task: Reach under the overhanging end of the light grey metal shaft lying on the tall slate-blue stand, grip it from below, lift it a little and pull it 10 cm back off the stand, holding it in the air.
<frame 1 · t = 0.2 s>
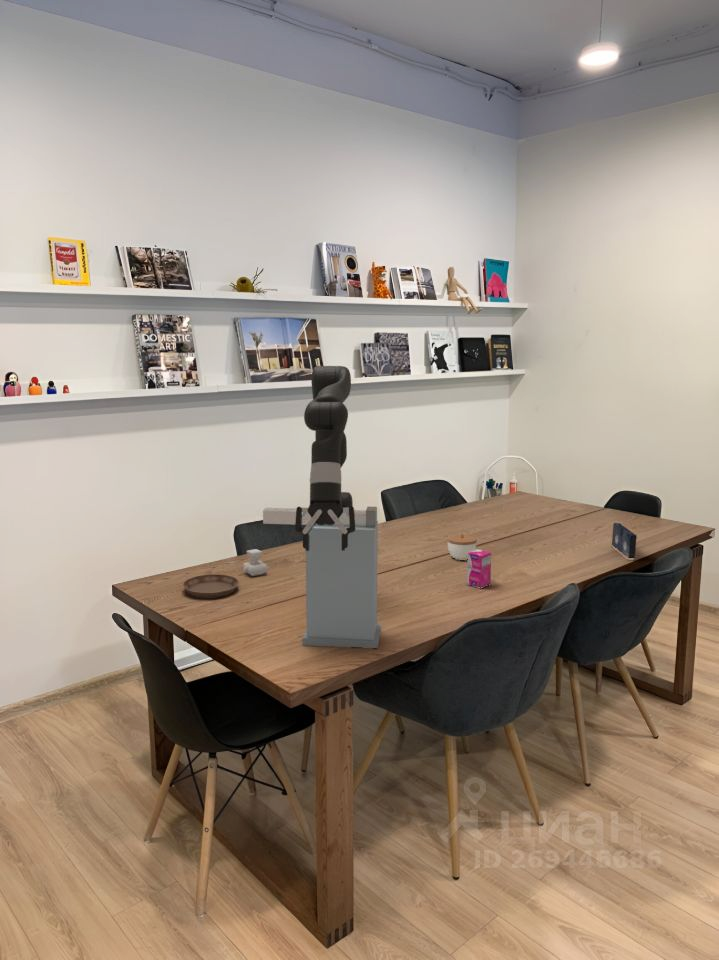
hand: (325, 550, 176), 31 cm above the table, tool tilted 20°, fingers open, 8 cm apart
supplement box: (478, 585, 246), on the table
plant saucer: (211, 592, 241), on the table
stamp: (255, 574, 257), on the table
stand: (342, 637, 203), on the table
shaft: (320, 523, 197), point 32 cm above the table, touching stand
vhs cassette tape: (622, 554, 282), on the table
lidded jar: (461, 558, 276), on the table
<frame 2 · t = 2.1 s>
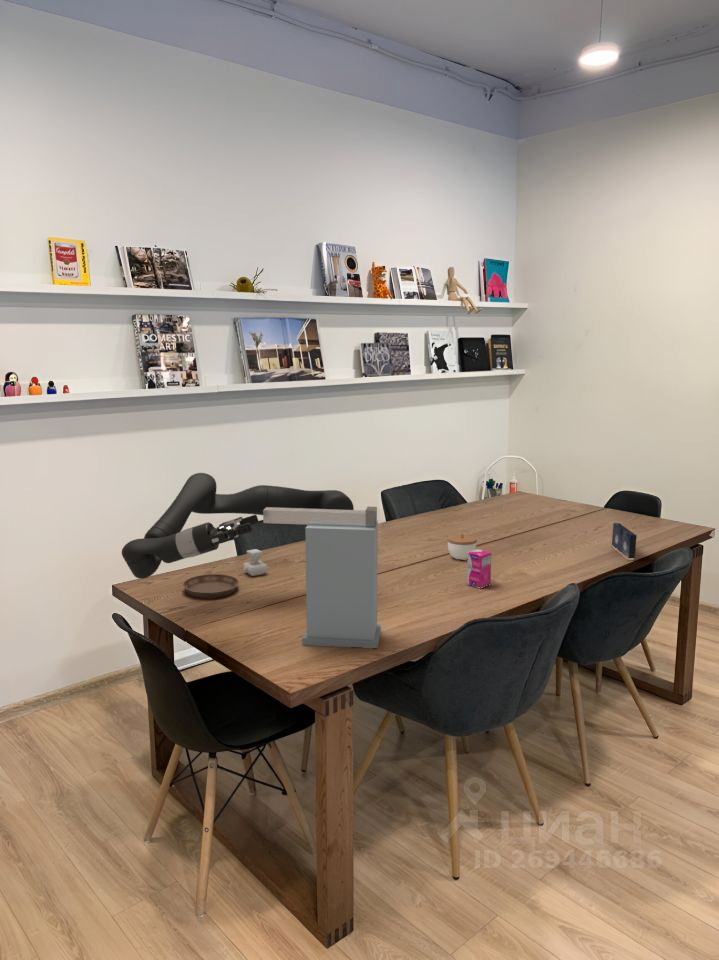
hand: (254, 522, 194), 33 cm above the table, tool pointing upward, fingers open, 8 cm apart
nothing on the table moved.
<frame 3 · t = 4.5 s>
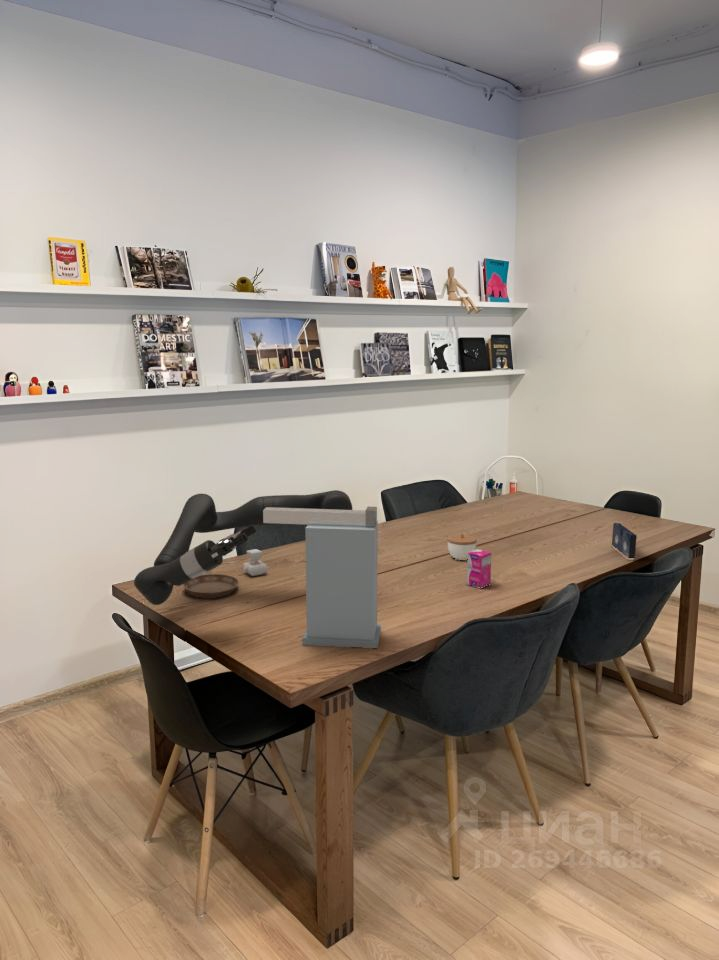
hand: (250, 532, 200), 29 cm above the table, tool pointing upward, fingers open, 8 cm apart
nothing on the table moved.
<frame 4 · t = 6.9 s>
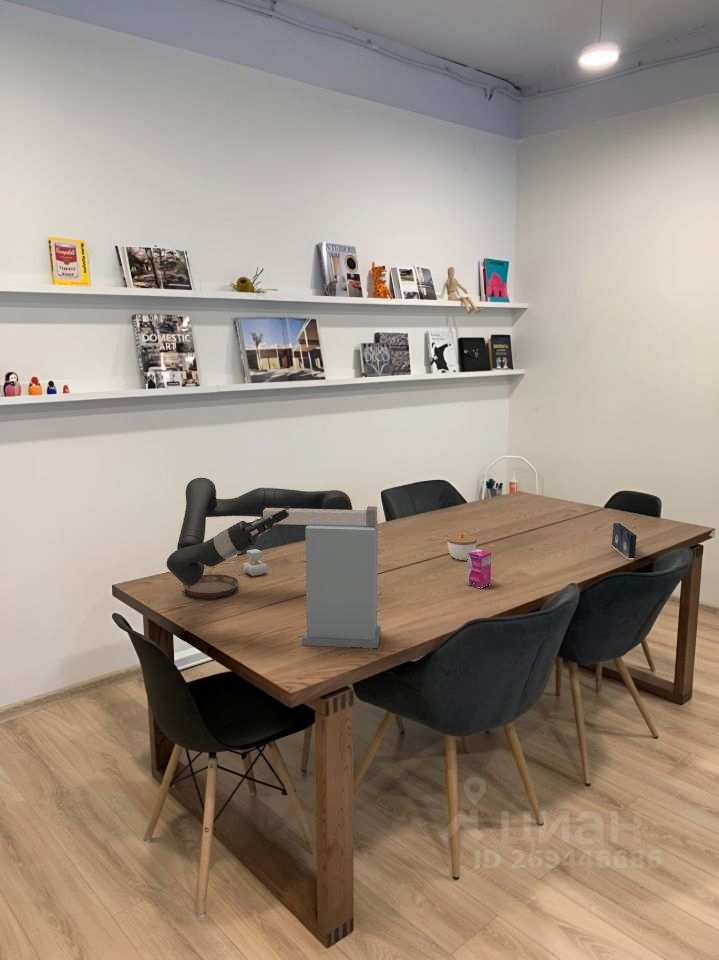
hand: (288, 510, 198), 35 cm above the table, tool pointing upward, fingers closed on shaft, 3 cm apart
shaft: (320, 523, 198), point 32 cm above the table, touching gripper, stand
everything else where it was.
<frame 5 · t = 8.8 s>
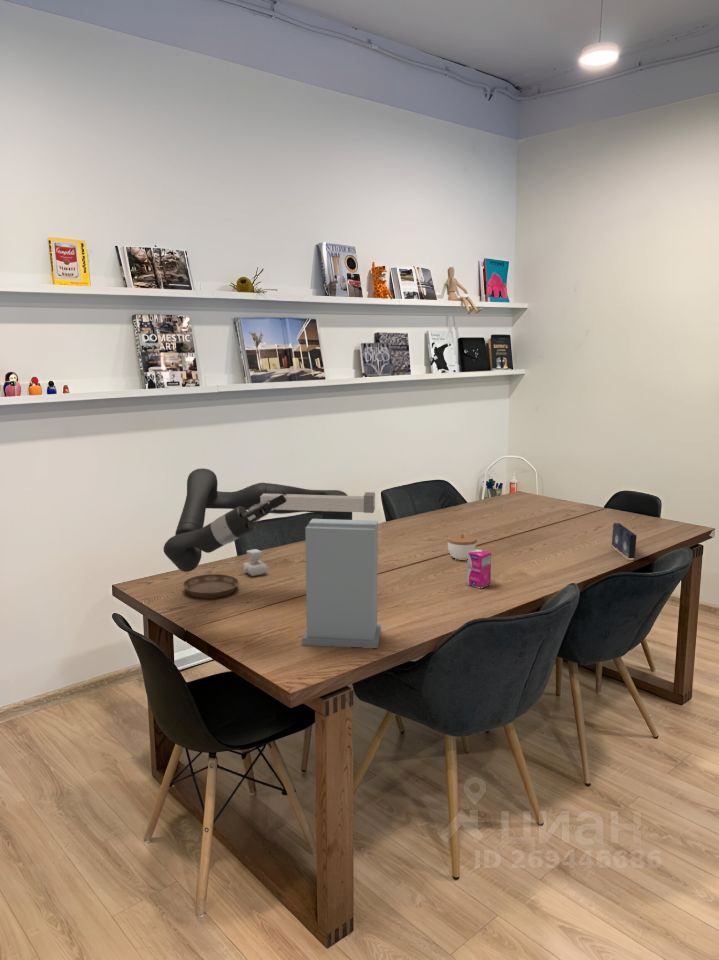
hand: (285, 496, 197), 39 cm above the table, tool pointing upward, fingers closed on shaft, 3 cm apart
shaft: (317, 509, 197), point 36 cm above the table, touching gripper
everything else where it was.
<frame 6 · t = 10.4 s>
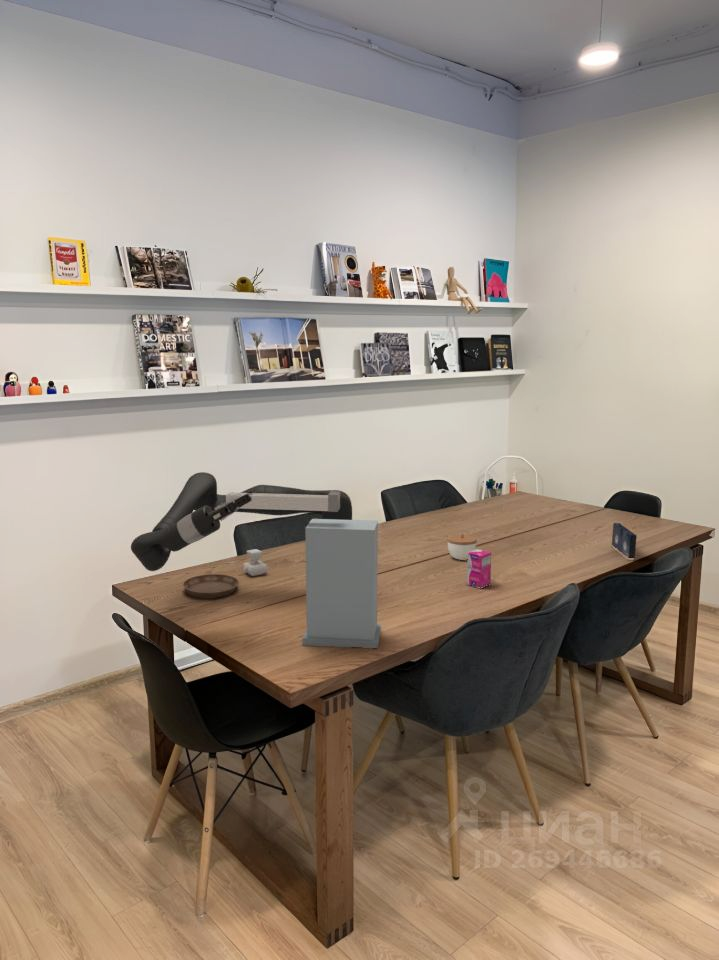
hand: (251, 495, 198), 39 cm above the table, tool pointing upward, fingers closed on shaft, 3 cm apart
shaft: (283, 508, 198), point 36 cm above the table, touching gripper
everything else where it was.
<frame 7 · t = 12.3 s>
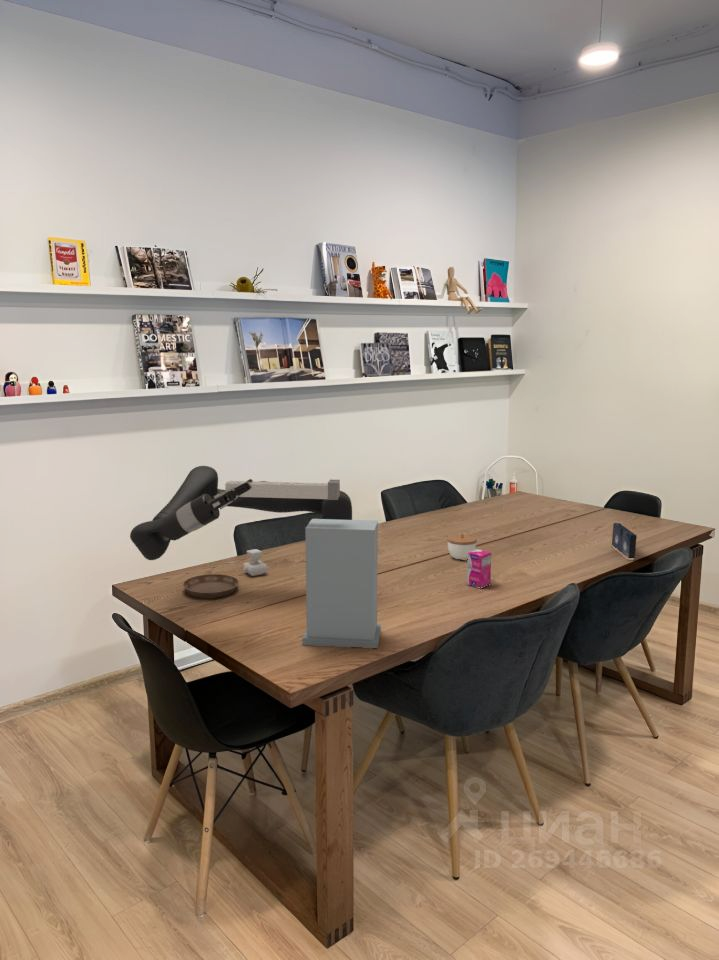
hand: (250, 483, 197), 42 cm above the table, tool pointing upward, fingers closed on shaft, 3 cm apart
shaft: (282, 496, 197), point 39 cm above the table, touching gripper
everything else where it was.
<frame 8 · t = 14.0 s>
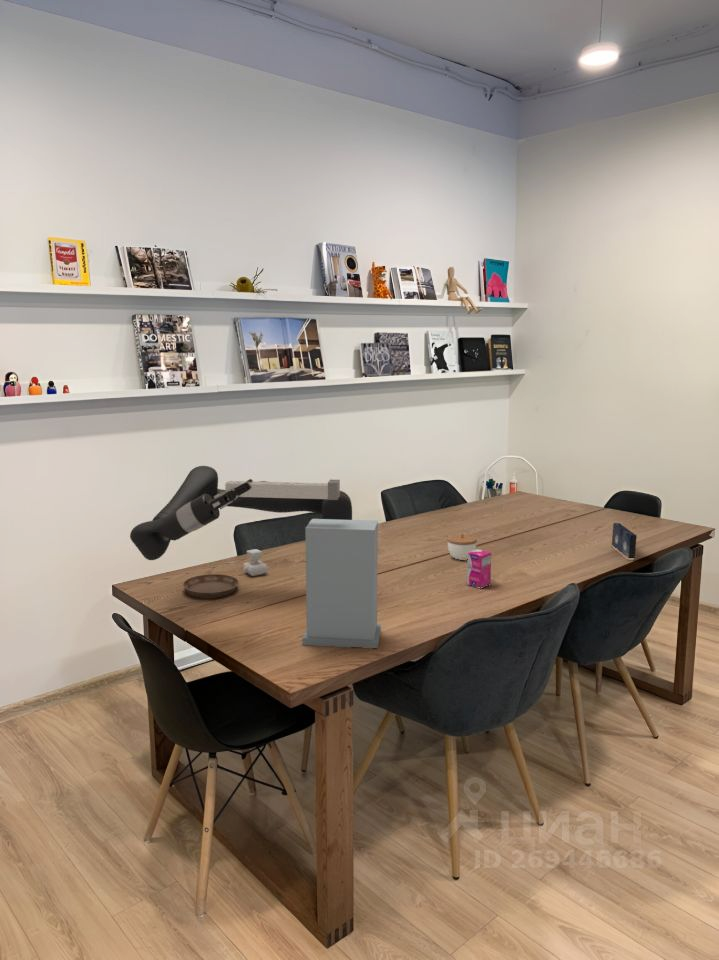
hand: (250, 483, 197), 42 cm above the table, tool pointing upward, fingers closed on shaft, 3 cm apart
shaft: (282, 496, 197), point 39 cm above the table, touching gripper
everything else where it was.
at the end: the gripper is holding shaft; shaft moved 12.2 cm from its start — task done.
